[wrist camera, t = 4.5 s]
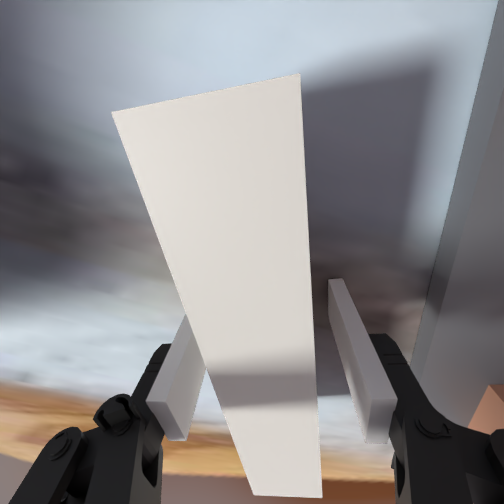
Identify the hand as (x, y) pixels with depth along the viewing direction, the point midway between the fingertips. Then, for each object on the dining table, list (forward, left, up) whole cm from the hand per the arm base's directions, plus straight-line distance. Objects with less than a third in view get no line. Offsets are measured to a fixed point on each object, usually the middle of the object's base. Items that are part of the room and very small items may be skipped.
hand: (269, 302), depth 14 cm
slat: (0, 0, -1) cm, 1 cm away
